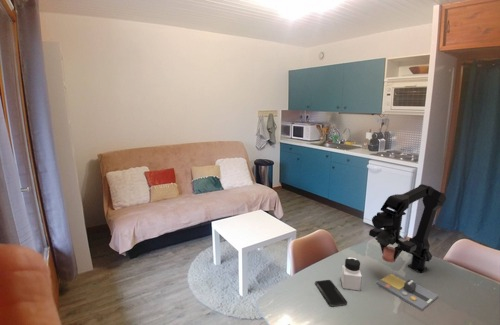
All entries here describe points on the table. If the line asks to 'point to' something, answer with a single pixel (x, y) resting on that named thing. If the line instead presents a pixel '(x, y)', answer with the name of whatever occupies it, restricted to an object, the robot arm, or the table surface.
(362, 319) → the table surface
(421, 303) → the panel
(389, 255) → the cap
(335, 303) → the phone
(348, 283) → the medicine bottle
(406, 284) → the breaker
